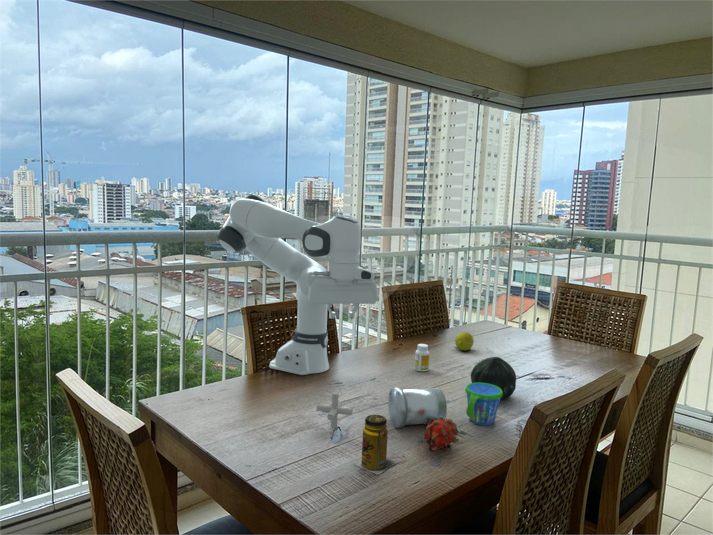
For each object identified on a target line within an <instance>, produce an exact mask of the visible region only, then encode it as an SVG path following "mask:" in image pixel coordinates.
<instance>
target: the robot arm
mask: <svg viewBox="0 0 713 535" xmlns="http://www.w3.org/2000/svg"><path fill="white" fill-rule="evenodd" d="M361 232H362V231H361V226H360V222H359V220H357V219H356V218H355V217H352V216H349V215H342V214H337V215H334V216H332V218H330V219H329V220H327V221H325V222H323V223H321V222H317V221H315V220H311V219H307V218H304V217H301V216H298V215H296V214H294V213H291V212H288V211H286V210H284V209H281V208H279V207H278V206H274V205H272V204H270V203H268V202H267V201H266V200H265V199H264V198H262V197H261V196H259V195H257V194H251V193H249V194H248V195H246V196H245V197H244V198H239V199H237V200H236V201H234V202H233V203H232V204H231V206H230V209H229V216H228V218H227V219H226V221H225V222H224V224H223V225H222V227H220V229H219V231H218V233H217V235H216V238H217V241H218V243H219V244H220V245H221V247H222V248H223V249H224V250H226V251H228V252H231V253H233V254H239V253H242V252H243V251H244V250H246V251H247V252H248V253H249V254H251V256H253V257H254V258H255V259H257V260H258V261H259V262H260V263H262V264H263V265H265V266H266V267H268V268H269V269H271V270H272V271H274V272H276V273H277V274H278V275H279V276H282V277H284V278H285V279H288V280H290V282H291V281H292V282H293V283H295V284H297V319H296V328H294V330H293V331H292V332H291V333H290V337H291V339H290V340H288V341H287V342H286V343H285V344H283V345H282V346H280V348H278V349H277V352H276V354H275V357H274V359H272V360H270V362H269V365H268V366H269V369H272V370H277V371H281V372H286V373H291V374H295V375H300V376H304V375H305V376H306V375H310V374H311V375H312V374H321V373H324V372H326V371H328V370H329V369H330V364H329V360H328V351H327V346H328V342H329V341H328V338H329V337H328V330H327V326H328V316H329V319H333V320H334V319H336V312H335V311H332V309H331V308H332V307H333V304H337V305H338V304H340V305H341V304H342V305H346V304H348V305H349V304H351V305H352V306H353V308H352V309H351V311H348V319H355V316H356V313H357V311H358V309H359V308H360V305H363V304H364V305H365V304H366V305H367V304H368V305H369V304H371V305H372V304H373V305H374V304H376V302H377V301H378V285H377V282H376V281H375V280H374V279H375V277H376V273H375V272H373V271H372V270H370V269H368V268H366V267H364V266H360V258H359V257H360V256H359V253H360V249H361V240H362V238H361V234H362V233H361ZM288 238H290V239H291V238H299V239H301V246H302V248H303V251H304V252H305V253H306V254H304V253H302V252H301V251H299V250H298V249H296V248H294V247H293V246H292V245H290V244H289V243H287V242H286V241H285V240H283V239H288ZM310 257H311V258H310ZM312 258H317V259H318V258H328V260H329V261H328V271H327V269H326V267H324V266H323V265H321V264H320V263H318V261H315V260H314V259H312ZM328 312H329V315H328Z"/></svg>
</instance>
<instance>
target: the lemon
mask: <svg viewBox="0 0 713 535" xmlns="http://www.w3.org/2000/svg"><path fill="white" fill-rule="evenodd" d="M454 344H455V346H456V348H458V349H459V350H460V351H464V352H465V351H469V350H471V349H472V348H473V345H474V338H473V336H472V334H471V333H469V332H468V331H467V332H466V331H464V332H460V333H458V334H457V335H456V337H455V340H454Z"/></svg>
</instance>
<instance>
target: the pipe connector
mask: <svg viewBox="0 0 713 535" xmlns="http://www.w3.org/2000/svg"><path fill="white" fill-rule="evenodd" d="M339 395H340V394H339V392H337V391H333V392H332V393H331V405H326V404H317V405H316V412H322V413H327V416H326V418H327V420H329V421H330V428H331V429H337V428H338V420H339V419H338V417H339V416H338V414H339V415H345V416H353V413H354V412H353V411H354V410H353V408H350V407H349V408H348V407H342V401H341V400H339Z"/></svg>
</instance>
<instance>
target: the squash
mask: <svg viewBox="0 0 713 535" xmlns="http://www.w3.org/2000/svg"><path fill="white" fill-rule="evenodd" d="M470 381H471V383H488V384H492V385H495V386H497V387H499V388H500V389H501V390H502V392H503V395H502V397H501V398H500V401H501V400H502V399H508V398H510V397H511V396H512V395H513V393H514V392H515V390H516V388H517V387H516V384H517V383H516V382H517V375H516V372H515V370H514V368H513V367H512V365H511V364H509V363H508V361H506V360H504V359H503V358H501V357H498V356H491V357H487V358H484V359H483V360H480V362H477V364H475V365H474V367H472V369H471V373H470Z"/></svg>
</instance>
